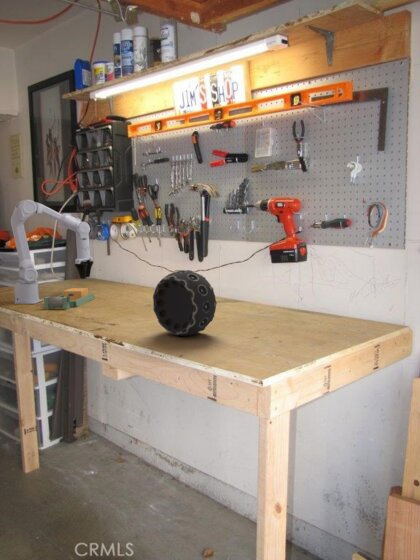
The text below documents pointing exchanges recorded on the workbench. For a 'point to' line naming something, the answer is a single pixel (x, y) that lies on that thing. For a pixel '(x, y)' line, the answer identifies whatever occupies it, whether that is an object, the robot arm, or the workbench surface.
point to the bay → (66, 301)
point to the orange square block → (76, 293)
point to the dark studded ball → (184, 303)
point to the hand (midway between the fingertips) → (85, 277)
